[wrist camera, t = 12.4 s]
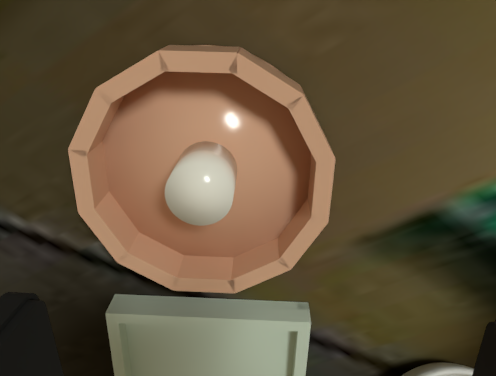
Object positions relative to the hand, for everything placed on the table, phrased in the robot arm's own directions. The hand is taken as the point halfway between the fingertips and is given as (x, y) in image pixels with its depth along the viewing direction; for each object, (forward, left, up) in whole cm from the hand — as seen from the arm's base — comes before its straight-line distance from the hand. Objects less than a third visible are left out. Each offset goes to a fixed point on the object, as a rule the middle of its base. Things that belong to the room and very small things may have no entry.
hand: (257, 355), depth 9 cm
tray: (+4, +26, -23) cm, 35 cm away
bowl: (+4, +5, -23) cm, 24 cm away
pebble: (+4, +5, -22) cm, 23 cm away
